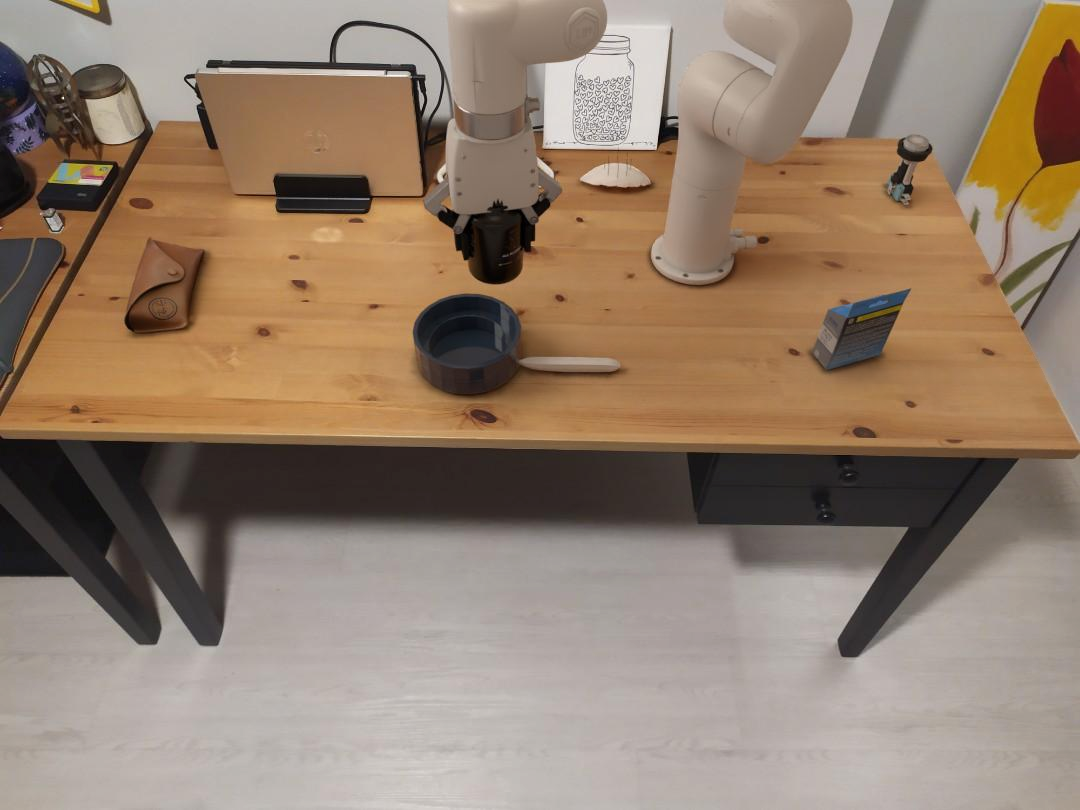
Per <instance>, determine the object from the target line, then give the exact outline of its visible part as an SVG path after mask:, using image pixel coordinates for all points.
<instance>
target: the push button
mask: <svg viewBox="0 0 1080 810" xmlns="http://www.w3.org/2000/svg"><path fill="white" fill-rule="evenodd" d="M933 150H934V149H933V145H932V144H931V143H930V140H929V139H928V138H927V137H926V136H924V135H922V134H916V133H913V134H909V135H907V136H904V137H902V138H900V139H899V140H898V142H897V149H896V154H897V156H899V157H900V161H899V164H898V166H897V169H896V170H895V171H894V172H891V173H890V176H889V178H888V181H887V183H886V187H887V191H886V192H887V193H888V195H892V197H893V198H894V200H895V201H896V202H902V204H903V205H905V206H907V205H909V204H910V203H909V202H908V201H911V200H912V198H911V197H910V196H911V195H912V194H913V191H914V189H915V188H914V185H913V184H912V181H913V179H914V173H915V170H916V168H917V166H918V164H919V163H922V162H925V161H926V160H927V158H928V157H929V155H931V154H932V152H933Z"/></svg>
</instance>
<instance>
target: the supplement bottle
mask: <svg viewBox="0 0 1080 810" xmlns="http://www.w3.org/2000/svg"><path fill="white" fill-rule="evenodd" d="M505 209H508V207H507V206H503V202H502V201H501V203H499V199H497V202H496V203H495V201H494V202H493V206H492V207H490V208H488V209H487V211H491V212H487V213H479V214H471V216H470V218H469V220H468V222H467V224H466V228H467V232H468V240H469V255H470V259H468V260H467V267H468V271H469V273H470V274H471V276H472V277H473V278H474V279H476V280H477V281H479V282H481V283H483V284H486V285H492V286H493V285H494V286H496V285H497V286H498V285H499V286H500V285H504V284H507V283H510V282H513V281H515V279H517V278H518V277H519V276H520V274H521V272H522V271H523V269H524V248H523V212H522V210H521V209H520V208H519V209H512V210H505Z"/></svg>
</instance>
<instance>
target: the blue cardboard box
mask: <svg viewBox="0 0 1080 810" xmlns="http://www.w3.org/2000/svg"><path fill="white" fill-rule="evenodd" d="M911 289H912V288H911V287H910V288H906V289H902V290H899V291H895V292H891V293H888V294H880V295H876V296H872V297H869V298H865V299H861V300H858V301H854V302H850V303H847V304H843V305H839V306H836V307H832V308H828V309H827V310H826V314H825V316H824V318H823V322H822V324H821V326H820V330H819V332H818V335H817V338H816V340H815V343H814V345H813V347H812V351H811V354H812V356H813V357H814V358H815V360H817V361H818V362H819V364H820V365H821V366H822V367H823V369H825V371H828V370H829V371H830V370H832V369H836V368H840V367H843V366H846V365H851V364H855V363H858V362H862V361H864V360H868V359H871V358H875V357H879V356H881V355H882V353H883V350H884V348H885V346H886V343H887V341H888V339H889V336H890V334H891V332H892V330H893V327H894V325H895V323H896V321H897V318H898V316H899V314H900V311H901V310H902V307H903V305H904V303H905V301H906V300H907V297H908V296H909V294H910V292H911V291H912V290H911Z"/></svg>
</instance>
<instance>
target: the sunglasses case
mask: <svg viewBox="0 0 1080 810" xmlns="http://www.w3.org/2000/svg"><path fill="white" fill-rule="evenodd" d="M146 240H147V241H146V245H145V247H144V249H143V251H142V255H141V258H140V261H139V263H138V266H137V268H136V269H137V270H136V273H135V275H134V276H135V277H134V280H133V283H132V287H131V290H130V293H129V297H128V301H127V306H126V310H125V315H124V320H123V323H124V325H125V327H126V328H127V330H129V331H131V332H132V333H134V334H152V333H162V332H163V333H164V332H170V331H177V330H182V329H185V328H186V327H188V326H189V323H190V306H191V301H192V296H193V291H194V286H195V283H196V279H197V275H198V272H199V270H200V269H199V268H200V265H201V263H202V261H203V257H204V254H205V248H200V249H196V248H191V247H187V246H183V245H178V244H175V243H170V242H165V241H162V240H158V239H153V237H148V238H147V239H146Z"/></svg>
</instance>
